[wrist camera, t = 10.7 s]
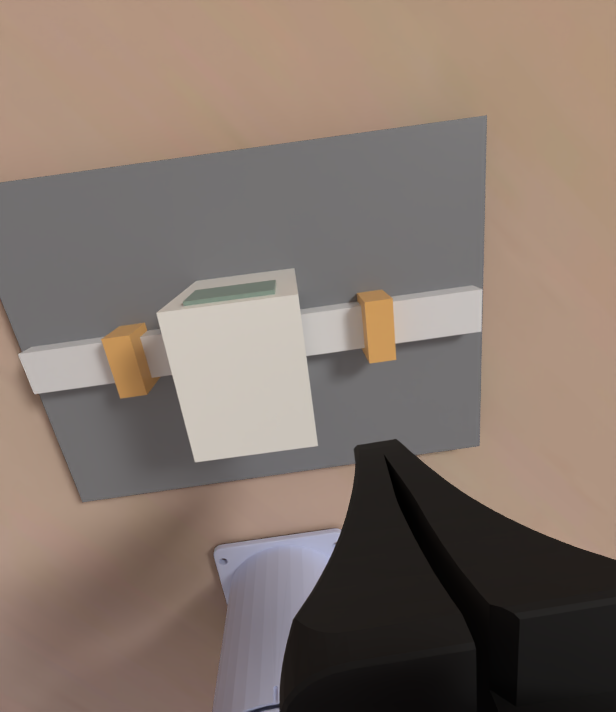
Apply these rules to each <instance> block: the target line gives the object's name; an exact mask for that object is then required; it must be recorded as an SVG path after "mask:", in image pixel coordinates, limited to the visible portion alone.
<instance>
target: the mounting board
mask: <svg viewBox="0 0 616 712" xmlns="http://www.w3.org/2000/svg"><path fill="white" fill-rule="evenodd" d="M486 133H487V115H486V116H479V117H472V118H465V119H457V120H450V121H443V122H436V123H428V124H421V125H414V126H407V127H400V128H392V129H385V130H378V131H371V132H363V133H356V134H349V135H342V136H334V137H327V138H320V139H313V140H305V141H298V142H291V143H284V144H276V145H269V146H262V147H255V148H247V149H240V150H233V151H226V152H218V153H211V154H204V155H197V156H189V157H182V158H175V159H168V160H160V161H153V162H146V163H139V164H131V165H124V166H117V167H110V168H102V169H95V170H88V171H81V172H74V173H66V174H59V175H52V176H45V177H37V178H30V179H23V180H16V181H8V182H1V183H0V298H1V301H2V303H3V306H4V308H5V311H6V313H7V316H8V318H9V321H10V323H11V326H12V328H13V331H14V333H15V336H16V338H17V341H18V343H19V346H20V348H21V351H22V352H21V353H19V354H18V356H19V358H20V360H21V363H22V365H23V368H24V370H25V373H26V375H27V378H28V380H29V383H30V385H31V387H32V390H33V392H34V394H39V395H40V398H41V400H42V403H43V405H44V408H45V410H46V413H47V415H48V418H49V420H50V423H51V425H52V427H53V430H54V432H55V435H56V437H57V440H58V442H59V445H60V447H61V450H62V452H63V455H64V457H65V460H66V462H67V465H68V467H69V470H70V472H71V475H72V477H73V480H74V482H75V485H76V487H77V490H78V492H79V495H80V497H81V499H82V502H87V501H94V500H101V499H108V498H115V497H122V496H129V495H136V494H144V493H151V492H158V491H165V490H172V489H179V488H186V487H193V486H200V485H207V484H214V483H221V482H228V481H235V480H243V479H250V478H257V477H264V476H271V475H278V474H285V473H292V472H299V471H306V470H313V469H320V468H327V467H334V466H341V465H349V464H355V457H354V448H355V447H356V446H357V445H361V444H367V443H373V442H380V441H386V440H392V439H397V440H398V441H400V442H401V443H402V444H403V445H404V446H405V447H406V448H408V449H409V450H410V451H411V452H412V453H413V454H414V455H419V454H426V453H433V452H440V451H447V450H455V449H462V448H469V447H476V446H479V445H480V401H481V356H482V312H483V267H484V222H485V178H486ZM291 268H294V269H295V276H296V283H297V289H298V296H299V304H300V312H301V319H302V327H303V335H304V342H305V350H306V358H307V365H308V373H309V381H310V388H311V396H312V404H313V411H314V419H315V426H316V434H317V442H318V446H314V447H307V448H299V449H292V450H284V451H277V452H269V453H262V454H254V455H247V456H239V457H232V458H224V459H217V460H209V461H202V462H195V461H194V457H193V453H192V449H191V445H190V441H189V437H188V434H187V430H186V426H185V422H184V418H183V414H182V411H181V407H180V403H179V399H178V395H177V391H176V387H175V384H174V380H173V376H172V372H171V368H170V364H169V360H168V357H167V353H166V349H165V345H164V341H163V337H162V333H161V330H160V326H159V322H158V318H157V314H156V313H157V312H158V311H159V310H160V309H162V308H163V307H164V306H165V305H167V304H168V303H169V302H170V301H172V300H173V299H174V298H175V297H177V296H178V295H179V294H180V293H182V292H183V291H184V290H185V289H187V288H188V287H189V286H190V285H192V284H193V283H194V282H195V281H199V280H207V279H214V278H222V277H230V276H238V275H245V274H253V273H261V272H268V271H276V270H284V269H291Z"/></svg>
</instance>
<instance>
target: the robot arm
mask: <svg viewBox="0 0 616 712" xmlns="http://www.w3.org/2000/svg"><path fill="white" fill-rule="evenodd" d="M354 457H355V476H354V484H353V490H352V495H351V499H350V503H349V507H348V511H347V515H346V518H345V521H344V524H343V527H342V530H341V529H338V528H334V529H327V530H320V531H313V532H306V533H299V534H292V535H285V536H278V537H271V538H264V539H257V540H250V541H243V542H236V543H229V544H222V545H218V546H217V547H215V549H214V559H215V563H216V566H217V570H218V574H219V577H220V581H221V584H222V588H223V592H224V595H225V599H226V602H227V606H228V607H227V614H226V621H225V627H224V634H223V641H222V648H221V655H220V662H219V668H218V675H217V682H216V689H215V696H214V703H213V709H212V712H616V560H614V559H611V558H608V557H605V556H602V555H599V554H595V553H592V552H589V551H586V550H583V549H580V548H577V547H574V546H572V545H569V544H566V543H564V542H561V541H559V540H556V539H554V538H551V537H548V536H546V535H544V534H541V533H539V532H537V531H534V530H532V529H530V528H528V527H525V526H523V525H521V524H519V523H517V522H515V521H513V520H511V519H509V518H507V517H505V516H503V515H501V514H499V513H497V512H495V511H493V510H492V509H490V508H488V507H486V506H485V505H483V504H481V503H479V502H478V501H476V500H474V499H473V498H471V497H469V496H468V495H466V494H465V493H463V492H462V491H460V490H459V489H457V488H456V487H455V486H453V485H452V484H450V483H449V482H448V481H446V480H445V479H444V478H442V477H441V476H440V475H438V474H437V473H436V472H435V471H433V470H432V469H431V468H430V467H428V466H427V465H426V464H425V463H423V462H422V461H421V460H420V459H419V458H418V457H416V456H415V455H414V454H413V453H412V452H411V451H410V450H409V449H408V448H406V447H405V446H404V445H403V444H402V443H401V442H400V441H398V440H397V439H392V440H386V441H380V442H373V443H367V444H361V445H357V446H356V447H355V448H354ZM335 542H337V543H336V544H334V543H335ZM222 558H225V559H226V560H223V559H222Z"/></svg>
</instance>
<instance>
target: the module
mask: <svg viewBox="0 0 616 712" xmlns="http://www.w3.org/2000/svg"><path fill="white" fill-rule="evenodd" d="M156 314H157V318H158V322H159V326H160V330H161V333H162V337H163V341H164V345H165V349H166V353H167V357H168V360H169V364H170V368H171V372H172V376H173V380H174V384H175V387H176V391H177V395H178V399H179V403H180V407H181V411H182V414H183V418H184V422H185V426H186V430H187V434H188V437H189V441H190V445H191V449H192V453H193V457H194V461H195V462H202V461H209V460H217V459H224V458H232V457H239V456H247V455H254V454H262V453H269V452H277V451H284V450H292V449H299V448H307V447H314V446H318V442H317V434H316V426H315V419H314V411H313V404H312V396H311V388H310V381H309V373H308V365H307V358H306V350H305V342H304V335H303V327H302V319H301V312H300V304H299V296H298V289H297V283H296V276H295V269H294V268H291V269H284V270H276V271H268V272H261V273H253V274H245V275H238V276H230V277H222V278H214V279H207V280H199V281H195V282H194V283H193V284H192V285H190V286H189V287H188V288H187V289H185V290H184V291H183V292H182V293H180V294H179V295H178V296H177V297H175V298H174V299H173V300H172V301H170V302H169V303H168V304H167V305H165V306H164V307H163V308H162V309H160V310H159V311H158V312H157V313H156Z"/></svg>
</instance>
